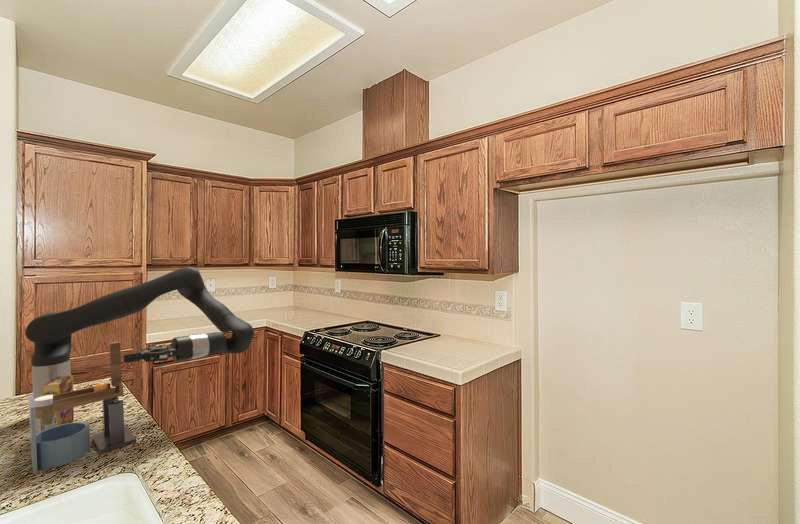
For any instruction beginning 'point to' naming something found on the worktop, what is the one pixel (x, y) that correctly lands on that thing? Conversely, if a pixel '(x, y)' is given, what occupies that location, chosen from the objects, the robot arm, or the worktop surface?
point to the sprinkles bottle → (44, 413)
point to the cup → (57, 442)
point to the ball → (100, 387)
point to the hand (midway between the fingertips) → (124, 358)
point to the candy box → (59, 387)
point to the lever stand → (113, 428)
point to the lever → (88, 394)
